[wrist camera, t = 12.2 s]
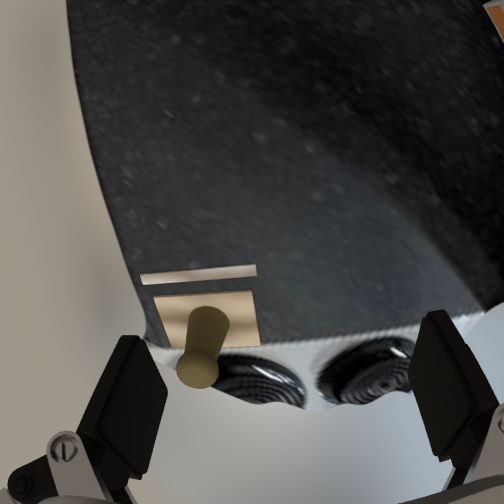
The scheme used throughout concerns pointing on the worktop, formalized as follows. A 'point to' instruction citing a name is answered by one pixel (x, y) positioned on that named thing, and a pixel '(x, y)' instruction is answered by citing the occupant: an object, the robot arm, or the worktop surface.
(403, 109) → the worktop surface
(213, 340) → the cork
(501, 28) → the skincare box
